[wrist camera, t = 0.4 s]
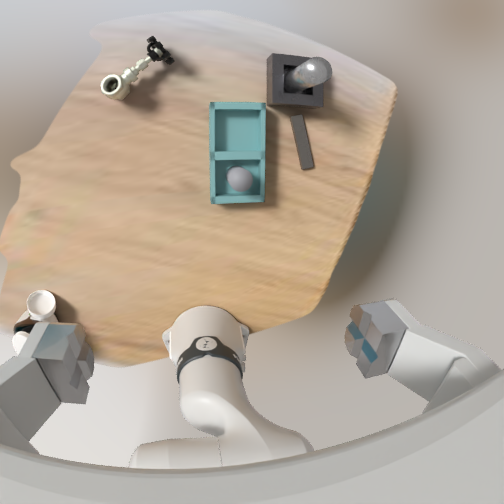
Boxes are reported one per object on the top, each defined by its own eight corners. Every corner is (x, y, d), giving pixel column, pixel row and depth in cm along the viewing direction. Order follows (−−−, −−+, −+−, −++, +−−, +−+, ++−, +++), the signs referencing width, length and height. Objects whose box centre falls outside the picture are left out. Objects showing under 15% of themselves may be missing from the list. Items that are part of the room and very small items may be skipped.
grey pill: (303, 93, 47) (332, 84, 36) (282, 92, 46) (306, 80, 36) (303, 73, 46) (331, 59, 35) (282, 71, 45) (305, 55, 34)
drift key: (311, 166, 54) (313, 166, 53) (300, 168, 54) (302, 169, 53) (299, 114, 50) (302, 114, 49) (288, 116, 50) (290, 116, 49)
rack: (260, 197, 54) (269, 206, 48) (210, 199, 52) (212, 208, 46) (261, 105, 48) (270, 100, 41) (209, 104, 46) (211, 99, 40)
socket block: (314, 108, 49) (323, 106, 46) (266, 105, 48) (272, 102, 44) (314, 64, 46) (322, 59, 42) (266, 59, 45) (272, 53, 41)
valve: (122, 110, 44) (176, 65, 43) (113, 107, 38) (173, 55, 36) (101, 86, 41) (153, 42, 40) (89, 81, 35) (148, 30, 34)
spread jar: (36, 333, 55) (18, 363, 44) (16, 292, 51) (-7, 319, 40) (74, 328, 57) (58, 361, 46) (54, 284, 52) (32, 313, 42)
